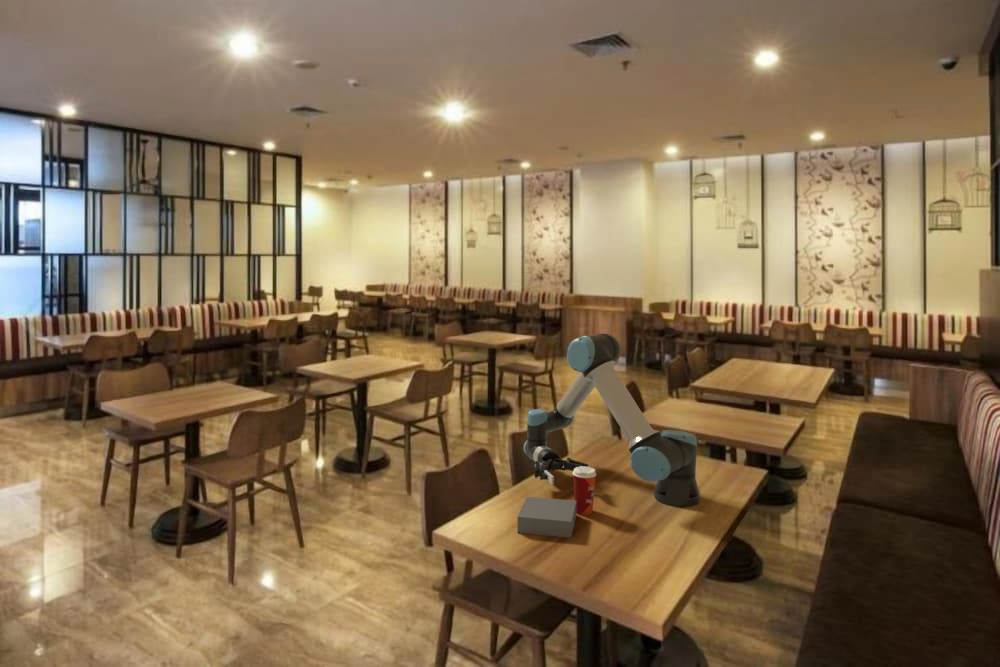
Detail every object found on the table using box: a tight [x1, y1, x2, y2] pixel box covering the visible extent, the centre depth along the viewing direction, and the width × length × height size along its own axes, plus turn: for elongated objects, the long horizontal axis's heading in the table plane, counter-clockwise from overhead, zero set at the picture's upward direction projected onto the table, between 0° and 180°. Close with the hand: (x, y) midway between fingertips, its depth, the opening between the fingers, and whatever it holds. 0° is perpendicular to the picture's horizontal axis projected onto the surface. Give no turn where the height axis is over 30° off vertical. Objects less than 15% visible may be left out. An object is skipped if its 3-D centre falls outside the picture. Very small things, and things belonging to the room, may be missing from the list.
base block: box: [517, 496, 577, 539], centre depth 194 cm, size 16×16×5 cm
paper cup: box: [572, 466, 597, 516], centre depth 203 cm, size 8×8×14 cm
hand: (571, 478), depth 212 cm, fingers open, 13 cm apart
